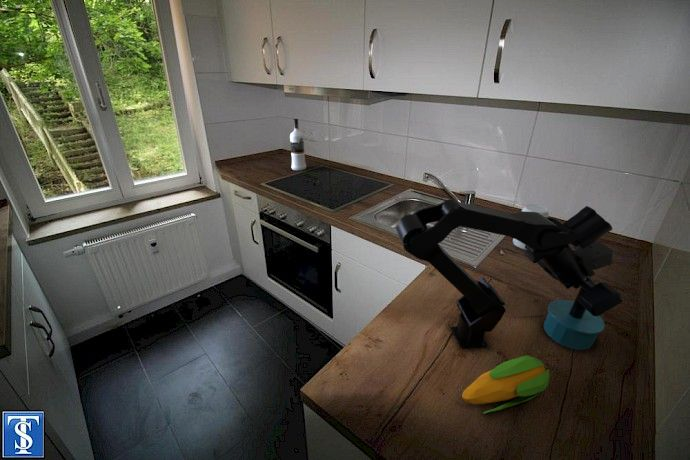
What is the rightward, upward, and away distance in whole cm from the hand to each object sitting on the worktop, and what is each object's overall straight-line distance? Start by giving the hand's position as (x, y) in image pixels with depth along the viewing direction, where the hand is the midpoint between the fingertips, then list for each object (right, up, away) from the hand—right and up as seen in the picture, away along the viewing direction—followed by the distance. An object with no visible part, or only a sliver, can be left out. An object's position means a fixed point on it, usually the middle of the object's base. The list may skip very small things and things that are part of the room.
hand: (589, 297), depth 72 cm
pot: (-2, -10, +5) cm, 11 cm away
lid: (-1, -5, +3) cm, 6 cm away
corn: (-25, -18, -9) cm, 32 cm away
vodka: (-85, +54, +125) cm, 160 cm away
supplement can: (+9, +10, +43) cm, 45 cm away
